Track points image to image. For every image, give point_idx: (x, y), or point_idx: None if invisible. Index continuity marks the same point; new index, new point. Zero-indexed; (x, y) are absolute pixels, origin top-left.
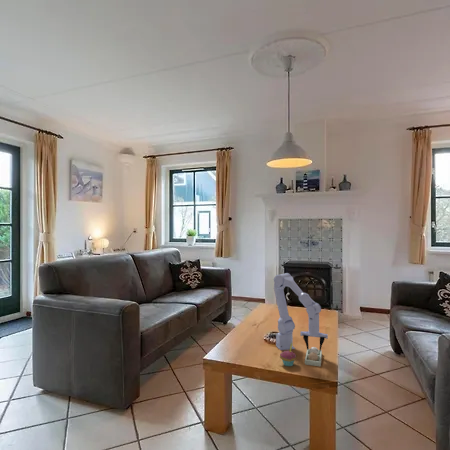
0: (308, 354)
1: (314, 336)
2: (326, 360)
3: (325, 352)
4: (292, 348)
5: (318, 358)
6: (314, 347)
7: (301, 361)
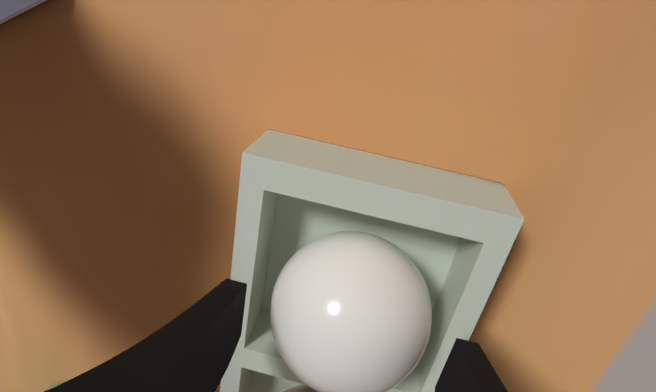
0: (256, 360)
1: None
2: (507, 349)
3: (625, 67)
4: (9, 5)
5: None
6: (345, 382)
7: None
